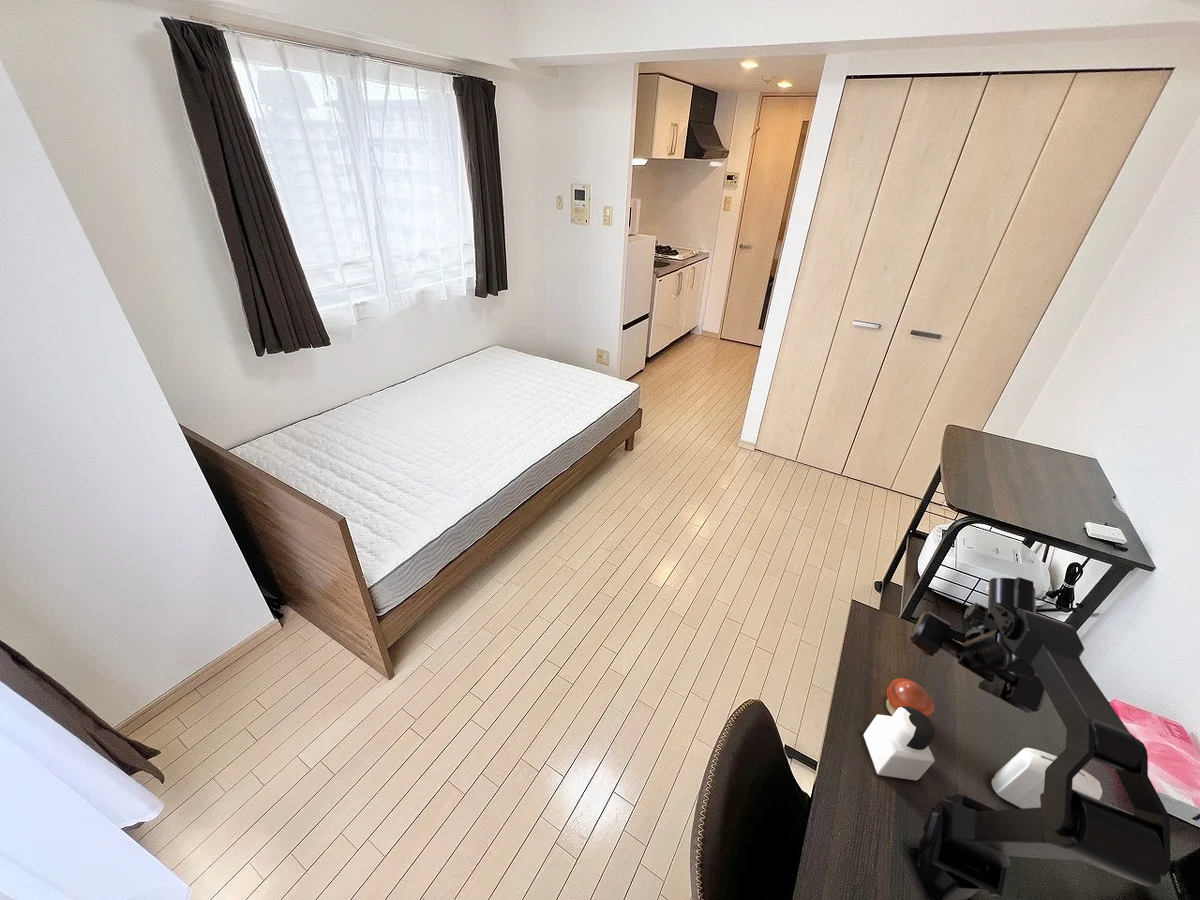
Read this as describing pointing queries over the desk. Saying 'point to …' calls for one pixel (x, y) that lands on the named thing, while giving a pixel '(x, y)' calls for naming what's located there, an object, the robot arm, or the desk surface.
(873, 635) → the desk surface
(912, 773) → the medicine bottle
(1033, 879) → the desk surface
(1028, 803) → the photo printer
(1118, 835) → the robot arm
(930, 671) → the desk surface
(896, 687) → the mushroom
